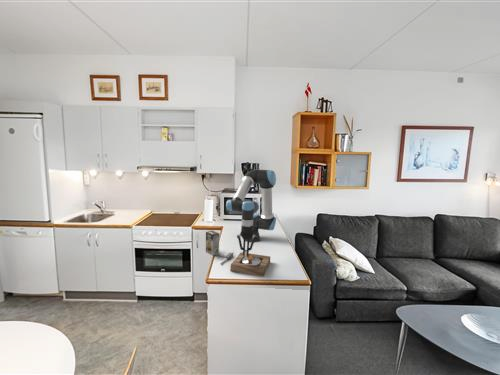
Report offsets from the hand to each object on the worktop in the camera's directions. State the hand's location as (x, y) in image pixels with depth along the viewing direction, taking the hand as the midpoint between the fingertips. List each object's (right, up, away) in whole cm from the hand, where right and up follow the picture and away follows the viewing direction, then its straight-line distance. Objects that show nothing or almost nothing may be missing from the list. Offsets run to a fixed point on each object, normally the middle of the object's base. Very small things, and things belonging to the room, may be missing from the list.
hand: (245, 259), depth 169 cm
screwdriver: (-14, -4, +14) cm, 20 cm away
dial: (+4, -4, +5) cm, 7 cm away
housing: (+4, -6, +5) cm, 9 cm away
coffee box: (-26, -2, +26) cm, 36 cm away
